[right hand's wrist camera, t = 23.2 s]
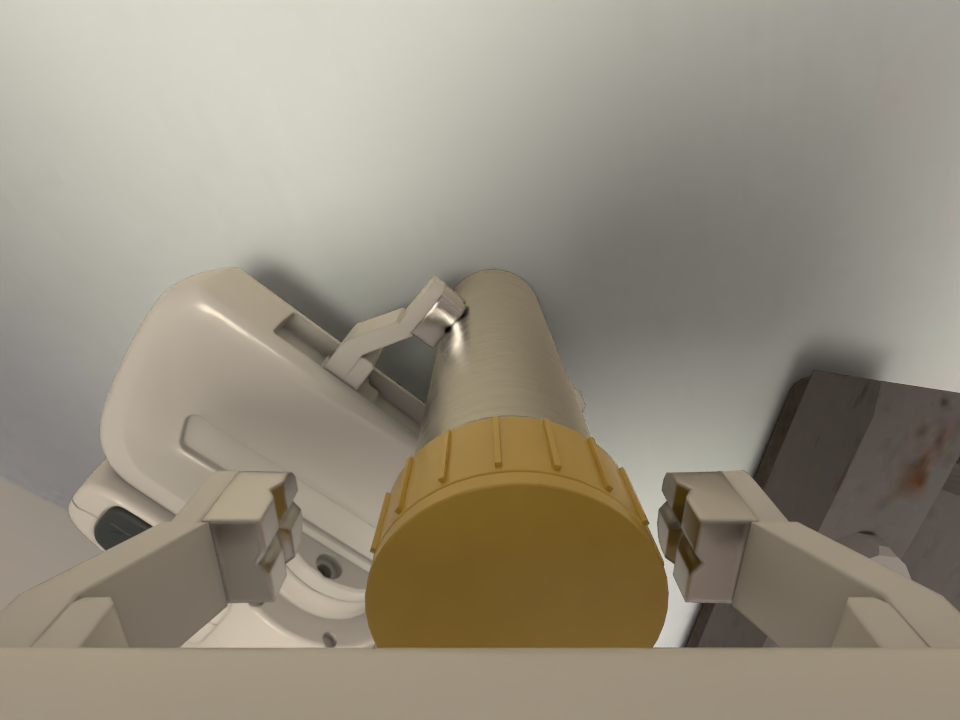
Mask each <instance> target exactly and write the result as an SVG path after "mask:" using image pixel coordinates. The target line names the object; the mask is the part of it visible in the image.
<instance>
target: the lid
mask: <svg viewBox="0 0 960 720" xmlns="http://www.w3.org/2000/svg"><path fill="white" fill-rule="evenodd" d="M648 524H649V522H648V519H647V517H646V515H645V513H644V511H643V508H642V506H641V504H640V502H639V500H638V497H637V495H636V493H635V491H634V489H633V486H632V484H631V482H630V480H629V478H628V475H627V473H626V471H625V469H624V468H623V467H622V468H620V469H619V467H618V466H617V465H616V463H615V462H614V460H613V459H612V458H611V457H610V456H609V455H608V454H607V453H606V452H605V451H604V450H603V449H602V448H601V447H599V446H598V445H597V444H596V442H595V440H594V438H592V437H591V436H590V437H589V438H587V437H585V436H584V435H582V434H580V433H579V432H577V431H575V430H572V429H570V428H568V427H566V426H563V425H561V424H557V423H554V422H550V419H546V418H544V420H542V419H536V418H531V417H516V416H508V417H498V416H492V418H488V419H482V420H477V421H474V422H470V423H467V424H464V425H461V426H458V427H456V428H454V429H452V430H449V429H447V430H445V431H444V433H443V434H442V435H440V436H438V437H437V438H435V439H433V440H432V441H430V442H429V443H428V444H426V445H425V446H424V447H423V448H421V449H420V450H419V451H418V452H417V453H416V454H415V455H414V456H413V457H411V456H409V457H408V458H407V459H406V463H405V466H404V468H403V469H402V471H401V472H400V473H399V475H398V477H397V479H396V481H395V483H394V485H393V487H392V489H391V493H388V492H386V494H385V498H384V501H383V505H382V509H381V512H380V516H379V520H378V523H377V527H376V531H375V534H374V538H373V542H372V545H371V549H370V552H371V553H374V556H373V560H372V563H371V568H370V571H369V575H368V579H367V584H366V591H365V612H366V617H367V622H368V627H369V630H370V632H371V635H372V637H373V640H374V642H375V644H376V646H377V647H378V648H653V646H654V644H655V643H656V641H657V640H658V637H659V635H660V633H661V630H662V628H663V626H664V622H665V618H666V614H667V609H668V595H669V593H668V583H667V576H666V573H665V569H664V561H663V559H662V557H661V554H660V552H659V550H658V548H657V546H656V543H655V541H654V539H653V537H652V534H651V532H650V530H649V528H648Z"/></svg>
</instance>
